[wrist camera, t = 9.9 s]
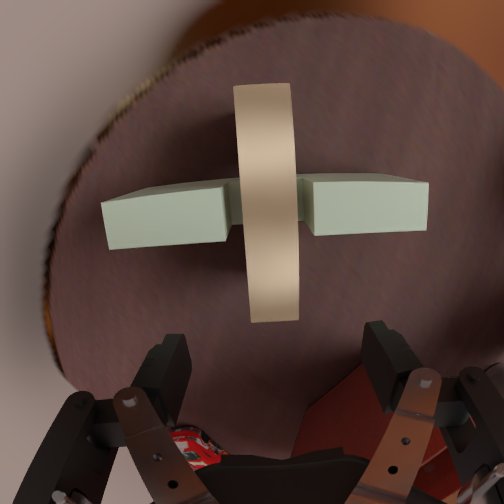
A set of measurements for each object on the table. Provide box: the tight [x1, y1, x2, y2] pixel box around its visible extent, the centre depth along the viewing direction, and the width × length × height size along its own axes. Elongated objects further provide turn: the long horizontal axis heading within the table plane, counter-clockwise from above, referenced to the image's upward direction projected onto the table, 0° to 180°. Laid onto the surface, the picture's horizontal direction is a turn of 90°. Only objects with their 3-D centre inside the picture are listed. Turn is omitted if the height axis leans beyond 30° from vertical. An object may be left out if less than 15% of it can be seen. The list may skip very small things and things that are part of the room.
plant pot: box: [291, 363, 476, 501], centre depth 23 cm, size 19×19×17 cm
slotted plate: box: [233, 83, 299, 323], centre depth 19 cm, size 14×3×8 cm, turn 4°
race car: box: [169, 426, 229, 469], centre depth 33 cm, size 13×5×4 cm, turn 26°
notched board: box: [101, 173, 429, 250], centre depth 19 cm, size 20×3×8 cm, turn 94°
